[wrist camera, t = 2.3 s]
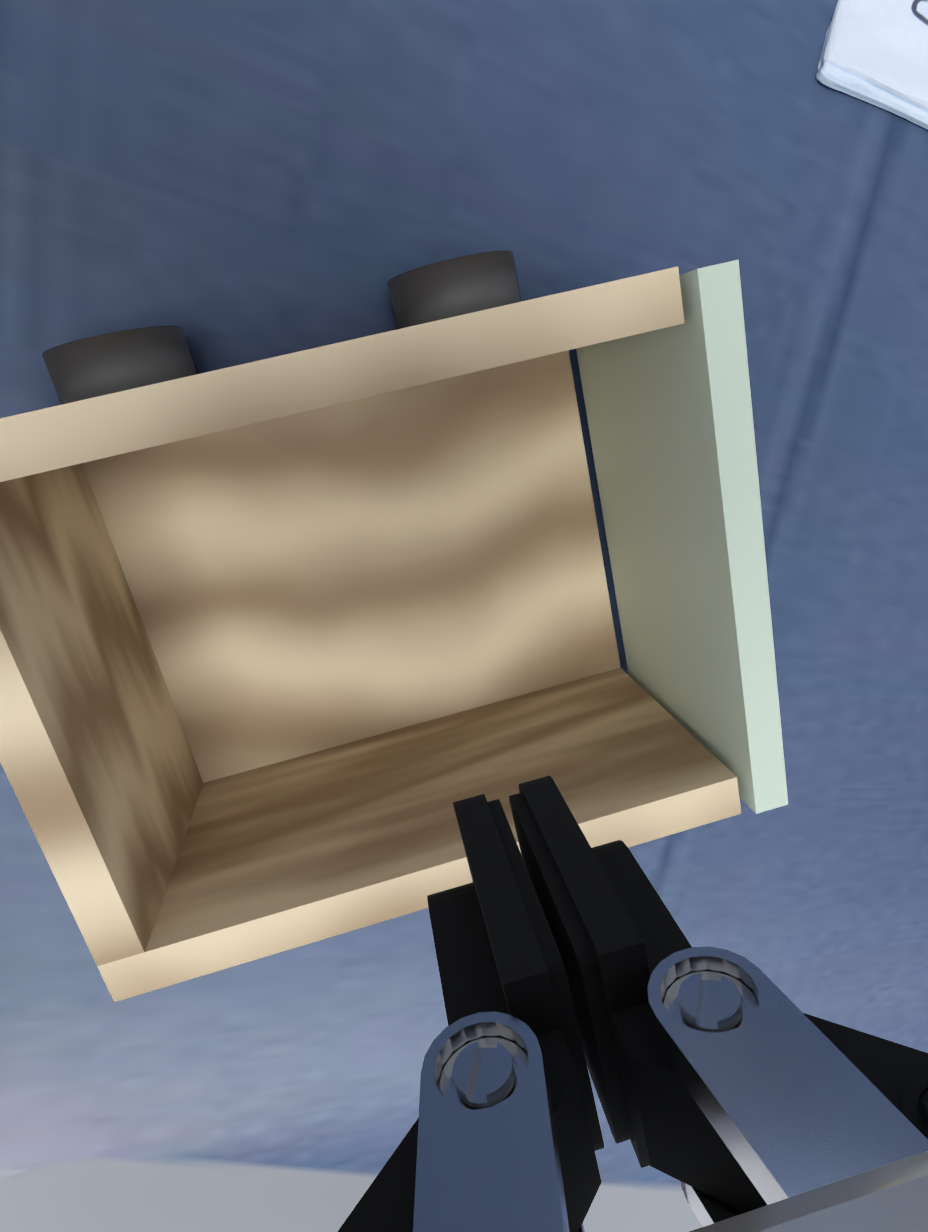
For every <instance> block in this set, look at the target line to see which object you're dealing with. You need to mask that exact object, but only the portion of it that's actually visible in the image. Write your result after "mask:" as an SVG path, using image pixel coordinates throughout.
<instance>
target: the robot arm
mask: <svg viewBox="0 0 928 1232" xmlns="http://www.w3.org/2000/svg"><path fill="white" fill-rule="evenodd" d="M509 802H510V807H511V811H512V816H513V820H514V824H515V829H516V833H517V838H518V842H519V846H520V850H519V848H518V845H517V843H516V840H515V838H514V835H513V833H512V830H511V828H510V825H509V822H508V820H507V817H506V815H505V812H504V810H503V807H502V805H501V802H500V800H499V799H496V800H493V801H489V802H487V800H486V797H485V794H481V795H478V796H474V797H470V798H467V799H463V800H460V801H456V802H453V806H454V810H455V814H456V818H457V822H458V826H459V829H460V833H461V837H462V841H463V845H464V849H465V853H466V857H467V861H468V865H469V869H470V873H471V877H472V881H473V882H472V883H469V884H465V885H462V886H459V887H455V888H452V889H448V890H445V891H441V892H438V893H434V894H431V895H428V896H427V900H428V907H429V913H430V919H431V925H432V930H433V936H434V942H435V948H436V954H437V960H438V966H439V972H440V978H441V984H442V990H443V996H444V1002H445V1008H446V1014H447V1020H448V1025H449V1026H448V1027H446V1028H445V1029H444V1030H443V1031H442V1032H441V1033H440V1034H439V1035H438V1036H437V1037H436V1038H435V1039H434V1041H433V1042H432V1044H431V1046H430V1048H429V1049H428V1051H427V1053H426V1055H425V1057H424V1062H423V1067H422V1071H421V1083H420V1103H419V1118H418V1119H417V1121H416V1122H415V1124H414V1125H413V1126H412V1128H411V1129H410V1131H409V1132H408V1133H407V1135H406V1136H405V1138H404V1139H403V1141H402V1142H401V1143H400V1145H399V1146H398V1148H397V1149H396V1150H395V1152H394V1153H393V1155H392V1156H391V1157H390V1159H389V1160H388V1162H387V1163H386V1164H385V1166H384V1167H383V1169H382V1170H381V1171H380V1173H379V1174H378V1176H377V1177H376V1179H375V1180H374V1182H373V1183H372V1184H371V1186H370V1187H369V1189H368V1190H367V1191H366V1193H365V1194H364V1196H363V1197H362V1198H361V1200H360V1201H359V1203H358V1204H357V1205H356V1207H355V1208H354V1210H353V1211H352V1212H351V1214H350V1215H349V1217H348V1218H347V1219H346V1221H345V1222H344V1224H343V1225H342V1226H341V1228H340V1229H339V1231H338V1232H584V1227H583V1220H584V1218H585V1216H586V1214H587V1212H588V1210H589V1208H590V1205H591V1203H592V1201H593V1199H594V1197H595V1195H596V1193H597V1190H598V1188H599V1186H600V1184H601V1179H600V1174H599V1170H598V1165H597V1161H596V1156H595V1152H594V1151H595V1150H599V1149H602V1148H604V1143H603V1138H602V1134H601V1129H600V1124H599V1120H598V1115H597V1111H596V1106H595V1101H594V1097H593V1092H592V1087H591V1083H590V1078H589V1074H588V1069H589V1072H590V1075H591V1078H592V1080H593V1083H594V1086H595V1089H596V1091H597V1094H598V1097H599V1099H600V1102H601V1105H602V1108H603V1110H604V1113H605V1116H606V1118H607V1121H608V1124H609V1127H610V1129H611V1132H612V1135H613V1137H614V1139H615V1142H616V1143H620V1142H623V1141H626V1140H629V1139H630V1140H631V1143H632V1145H633V1148H634V1150H635V1153H636V1155H637V1158H638V1161H639V1163H640V1166H641V1168H642V1167H645V1166H648V1165H650V1166H652V1167H654V1168H656V1169H658V1170H660V1171H662V1172H664V1173H666V1174H668V1175H670V1176H672V1177H674V1178H676V1179H678V1180H680V1182H681V1187H682V1190H683V1192H684V1195H685V1197H686V1199H687V1202H688V1204H689V1206H690V1208H691V1210H692V1211H693V1213H694V1215H695V1216H696V1218H697V1220H698V1221H699V1223H700V1225H701V1226H702V1228H699V1229H696V1230H693V1231H690V1232H928V1053H925V1052H922V1051H919V1050H916V1049H913V1048H910V1047H907V1046H903V1045H900V1044H897V1043H894V1042H891V1041H888V1040H885V1039H882V1038H879V1037H876V1036H873V1035H869V1034H866V1033H863V1032H860V1031H857V1030H854V1029H851V1028H848V1027H845V1026H842V1025H839V1024H835V1023H832V1022H829V1021H826V1020H823V1019H820V1018H817V1017H814V1016H811V1015H808V1014H805V1013H802V1012H801V1011H800V1010H799V1009H798V1008H797V1007H796V1006H795V1005H794V1004H793V1003H792V1002H791V1001H790V1000H789V999H788V997H787V996H786V995H785V994H784V993H783V992H782V991H781V990H780V989H779V988H778V987H777V986H776V985H775V984H774V983H773V982H772V981H771V980H770V979H769V978H768V977H767V976H766V975H765V974H764V973H763V972H762V971H761V970H760V969H759V968H758V967H756V966H755V965H754V964H752V963H751V962H750V961H749V960H747V959H746V958H745V957H742V956H740V955H738V954H735V953H733V952H731V951H728V950H725V949H719V948H713V947H693V948H692V947H691V945H690V944H689V942H688V941H687V939H686V938H685V936H684V934H683V933H682V931H681V930H680V928H679V927H678V925H677V924H676V922H675V920H674V919H673V917H672V916H671V914H670V913H669V911H668V909H667V908H666V906H665V905H664V903H663V902H662V900H661V899H660V897H659V895H658V894H657V892H656V891H655V889H654V888H653V886H652V885H651V883H650V881H649V880H648V878H647V877H646V875H645V874H644V872H643V871H642V869H641V867H640V866H639V864H638V863H637V861H636V860H635V858H634V857H633V855H632V853H631V852H630V850H629V849H628V847H627V846H626V845H625V843H624V842H623V841H621V840H617V841H614V842H610V843H607V844H603V845H600V846H596V847H593V848H591V846H590V845H589V843H588V841H587V839H586V837H585V836H584V834H583V832H582V830H581V829H580V827H579V825H578V823H577V821H576V820H575V818H574V816H573V814H572V812H571V811H570V809H569V807H568V805H567V804H566V802H565V800H564V798H563V796H562V795H561V793H560V791H559V789H558V787H557V786H556V784H555V782H554V780H553V778H552V777H551V776H550V775H549V776H545V777H542V778H538V779H535V780H531V781H528V782H524V783H520V784H519V793H518V794H514V795H511V796H509ZM520 851H521V853H520ZM587 1067H588V1069H587Z"/></svg>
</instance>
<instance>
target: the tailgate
mask: <svg viewBox="0 0 928 1232" xmlns="http://www.w3.org/2000/svg"><path fill="white" fill-rule="evenodd" d="M679 278H680V287H681V296H682V304H683V313H684V322H685V323H684V324H679V325H675V326H671V327H666V328H662V329H658V330H653V331H649V332H645V333H641V334H636V335H632V336H628V337H623V338H619V339H615V340H610V341H606V342H602V343H597V344H593V345H589V346H585V347H580V348H576V351H577V358H578V364H579V370H580V376H581V382H582V389H583V395H584V401H585V407H586V414H587V420H588V426H589V432H590V438H591V445H592V451H593V457H594V463H595V470H596V476H597V482H598V488H599V494H600V501H601V507H602V513H603V519H604V526H605V532H606V538H607V544H608V550H609V557H610V563H611V569H612V575H613V582H614V588H615V594H616V600H617V606H618V613H619V619H620V625H621V631H622V637H623V644H624V650H625V656H626V662H627V669H628V675H629V676H630V677H631V678H632V679H633V680H634V681H635V682H636V683H638V684H639V685H640V686H641V687H642V688H643V689H644V690H645V691H646V692H647V693H648V694H649V695H650V696H651V697H652V698H653V699H655V700H656V701H657V702H658V703H659V704H660V705H661V706H662V707H663V708H664V709H665V710H666V711H667V712H668V713H669V714H670V715H672V716H673V717H674V718H675V719H676V720H677V721H678V722H679V723H680V724H681V725H682V726H683V727H684V728H685V729H686V730H687V731H689V732H690V733H691V734H692V735H693V736H694V737H695V738H696V739H697V740H698V741H699V742H700V743H701V744H702V745H703V746H704V747H706V748H707V749H708V750H709V751H710V752H711V753H712V754H713V755H714V756H715V757H716V758H717V759H718V760H719V761H720V762H722V763H723V764H724V765H725V766H726V767H727V768H728V769H729V770H730V771H731V772H732V773H733V774H734V775H735V776H736V777H737V781H738V790H739V797H740V798H741V799H742V800H743V801H744V802H745V803H746V804H747V805H748V806H749V807H750V808H751V809H752V810H753V811H754V812H755V813H756V814H758V813H761V812H764V811H768V810H771V809H774V808H778V807H781V806H784V805H787V804H788V797H787V786H786V775H785V764H784V753H783V742H782V732H781V721H780V710H779V699H778V688H777V677H776V666H775V655H774V644H773V633H772V622H771V611H770V600H769V589H768V578H767V567H766V556H765V545H764V534H763V524H762V513H761V502H760V491H759V480H758V469H757V458H756V447H755V436H754V425H753V414H752V403H751V392H750V381H749V370H748V359H747V348H746V337H745V326H744V315H743V305H742V294H741V283H740V272H739V261H738V260H735V261H730V262H726V263H721V264H717V265H712V266H708V267H703V268H699V269H696V270H693V271H690V272H687V273H685V274H682V275H679Z"/></svg>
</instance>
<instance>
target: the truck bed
mask: <svg viewBox="0 0 928 1232" xmlns="http://www.w3.org/2000/svg"><path fill="white" fill-rule="evenodd" d="M387 284H388V288H389V292H390V297H391V301H392V305H393V310H394V314H395V318H396V323H397V327H398V329H397V330H392V331H388V332H384V333H379V334H375V335H370V336H366V337H361V338H357V339H352V340H348V341H343V342H339V343H334V344H330V345H326V346H321V347H317V348H312V349H308V350H303V351H299V352H294V353H290V354H285V355H281V356H276V357H272V358H268V359H263V360H259V361H254V362H250V363H245V364H241V365H236V366H232V367H227V368H223V369H219V370H214V371H210V372H205V373H201V374H197V373H196V369H195V366H194V363H193V360H192V357H191V354H190V351H189V347H188V344H187V341H186V338H185V335H184V332H183V329H182V328H181V327H177V326H159V327H148V328H139V329H132V330H125V331H119V332H113V333H108V334H103V335H98V336H93V337H89V338H84V339H80V340H76V341H72V342H69V343H65V344H62V345H59V346H56V347H53V348H51V349H48V350H46V351H45V352H43V353H42V355H43V358H44V361H45V363H46V366H47V369H48V371H49V374H50V377H51V379H52V382H53V385H54V387H55V390H56V392H57V395H58V398H59V400H60V403H61V405H58V406H53V407H49V408H45V409H40V410H36V411H31V412H27V413H22V414H18V415H13V416H9V417H4V418H0V762H1V765H2V767H3V769H4V771H5V773H6V775H7V777H8V779H9V781H10V784H11V786H12V788H13V790H14V792H15V794H16V796H17V798H18V800H19V802H20V805H21V807H22V809H23V811H24V813H25V815H26V817H27V819H28V821H29V823H30V826H31V828H32V830H33V832H34V834H35V836H36V838H37V840H38V842H39V845H40V847H41V849H42V851H43V853H44V855H45V857H46V859H47V861H48V863H49V866H50V868H51V870H52V872H53V874H54V876H55V878H56V880H57V882H58V884H59V887H60V889H61V891H62V893H63V895H64V897H65V899H66V901H67V903H68V906H69V908H70V910H71V912H72V914H73V916H74V918H75V920H76V922H77V924H78V927H79V929H80V931H81V933H82V935H83V937H84V939H85V941H86V943H87V946H88V948H89V950H90V952H91V954H92V956H93V958H94V960H95V962H96V964H97V967H98V969H99V971H100V973H101V975H102V977H103V979H104V981H105V983H106V985H107V988H108V990H109V992H110V994H111V996H112V998H113V1000H114V1002H116V1001H120V1000H123V999H126V998H130V997H133V996H136V995H140V994H143V993H146V992H150V991H153V990H156V989H160V988H163V987H166V986H170V985H173V984H176V983H180V982H183V981H186V980H190V979H193V978H196V977H199V976H203V975H206V974H209V973H213V972H216V971H219V970H223V969H226V968H229V967H233V966H236V965H239V964H243V963H246V962H249V961H253V960H256V959H259V958H263V957H266V956H269V955H273V954H276V953H279V952H283V951H286V950H289V949H293V948H296V947H299V946H303V945H306V944H309V943H312V942H316V941H319V940H322V939H326V938H329V937H332V936H336V935H339V934H342V933H346V932H349V931H352V930H356V929H359V928H362V927H366V926H369V925H372V924H376V923H379V922H382V921H386V920H389V919H392V918H396V917H399V916H402V915H406V914H409V913H412V912H416V911H419V910H422V909H425V908H429V907H428V900H427V896H428V895H431V894H434V893H438V892H441V891H445V890H448V889H452V888H455V887H459V886H462V885H465V884H469V883H472V882H473V881H472V877H471V873H470V869H469V865H468V861H467V857H466V853H465V849H464V845H463V841H462V837H461V833H460V829H459V826H458V822H457V818H456V814H455V810H454V806H453V802H456V801H460V800H463V799H467V798H470V797H474V796H478V795H481V794H485V797H486V800H487V802H489V801H493V800H496V799H499V800H500V802H501V805H502V807H503V810H504V812H505V815H506V817H507V820H508V822H509V825H510V828H511V830H512V833H513V835H514V838H515V840H516V843H517V845H518V848H519V850H520V846H519V842H518V838H517V833H516V829H515V824H514V820H513V816H512V811H511V807H510V802H509V796H511V795H514V794H518V793H519V784H520V783H524V782H528V781H531V780H535V779H538V778H542V777H545V776H549V775H550V776H551V777H552V778H553V780H554V782H555V784H556V786H557V787H558V789H559V791H560V793H561V795H562V796H563V798H564V800H565V802H566V804H567V805H568V807H569V809H570V811H571V812H572V814H573V816H574V818H575V820H576V821H577V823H578V825H579V827H580V829H581V830H582V832H583V834H584V836H585V837H586V839H587V841H588V843H589V845H590V846H591V848H593V847H596V846H600V845H603V844H607V843H610V842H614V841H617V840H621V841H623V842H624V843H625V845H626V846H627V847H632V846H635V845H638V844H642V843H645V842H648V841H651V840H655V839H658V838H661V837H665V836H668V835H671V834H675V833H678V832H681V831H685V830H688V829H691V828H695V827H698V826H701V825H705V824H708V823H711V822H715V821H718V820H721V819H725V818H728V817H731V816H735V815H738V814H741V807H740V799H739V790H738V781H737V777H736V776H735V775H734V774H733V773H732V772H731V771H730V770H729V769H728V768H727V767H726V766H725V765H724V764H723V763H722V762H720V761H719V760H718V759H717V758H716V757H715V756H714V755H713V754H712V753H711V752H710V751H709V750H708V749H707V748H706V747H704V746H703V745H702V744H701V743H700V742H699V741H698V740H697V739H696V738H695V737H694V736H693V735H692V734H691V733H690V732H689V731H687V730H686V729H685V728H684V727H683V726H682V725H681V724H680V723H679V722H678V721H677V720H676V719H675V718H674V717H673V716H672V715H670V714H669V713H668V712H667V711H666V710H665V709H664V708H663V707H662V706H661V705H660V704H659V703H658V702H657V701H656V700H655V699H653V698H652V697H651V696H650V695H649V694H648V693H647V692H646V691H645V690H644V689H643V688H642V687H641V686H640V685H639V684H638V683H636V682H635V681H634V680H633V679H632V678H631V677H630V676H629V675H628V674H627V673H626V672H625V671H624V670H623V669H622V668H621V667H620V661H619V654H618V648H617V642H616V636H615V630H614V624H613V618H612V612H611V606H610V600H609V593H608V587H607V581H606V575H605V569H604V563H603V557H602V551H601V545H600V539H599V532H598V526H597V520H596V514H595V508H594V502H593V496H592V490H591V484H590V478H589V471H588V465H587V459H586V453H585V447H584V441H583V435H582V429H581V423H580V417H579V410H578V404H577V398H576V392H575V386H574V380H573V374H572V368H571V362H570V356H569V350H572V349H576V348H580V347H585V346H589V345H593V344H597V343H602V342H606V341H610V340H615V339H619V338H623V337H628V336H632V335H636V334H641V333H645V332H649V331H653V330H658V329H662V328H666V327H671V326H675V325H679V324H684V323H685V322H684V313H683V304H682V296H681V287H680V278H679V270H678V267H673V268H669V269H664V270H660V271H656V272H651V273H647V274H642V275H638V276H633V277H629V278H624V279H620V280H615V281H611V282H607V283H602V284H598V285H593V286H589V287H584V288H580V289H575V290H571V291H566V292H562V293H557V294H553V295H549V296H544V297H540V298H535V299H531V300H526V301H522V302H521V297H520V291H519V286H518V280H517V275H516V269H515V263H514V258H513V253H512V252H511V251H493V252H485V253H478V254H473V255H468V256H463V257H458V258H454V259H449V260H445V261H441V262H438V263H434V264H430V265H427V266H424V267H420V268H417V269H414V270H411V271H408V272H406V273H403V274H401V275H398V276H396V277H394V278H392V279H391V280H389V281H388V282H387ZM520 853H521V851H520Z"/></svg>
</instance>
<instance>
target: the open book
mask: <svg viewBox="0 0 928 1232" xmlns="http://www.w3.org/2000/svg"><path fill="white" fill-rule="evenodd" d="M816 79H817V80H818V81H820V82H821V83H822V84H824V85H826V86H827V87H830V88H832V89H835V90H838V91H841V92H843V93H846V94H848V95H851V96H853V97H856V98H858V99H861V100H863V101H866V102H868V103H871V104H873V105H875V106H878V107H880V108H883V109H885V110H887V111H890V112H892V113H894V114H896V115H899V116H901V117H903V118H905V119H907V120H909V121H911V122H913V123H914V124H917V125H919V126H921V127H923V128H925V129H927V130H928V0H838V2H837V5H836V8H835V11H834V14H833V17H832V20H831V23H830V26H829V28H828V31H827V34H826V38H825V42H824V46H823V50H822V54H821V58H820V62H819V66H818V72H817V74H816Z"/></svg>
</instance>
